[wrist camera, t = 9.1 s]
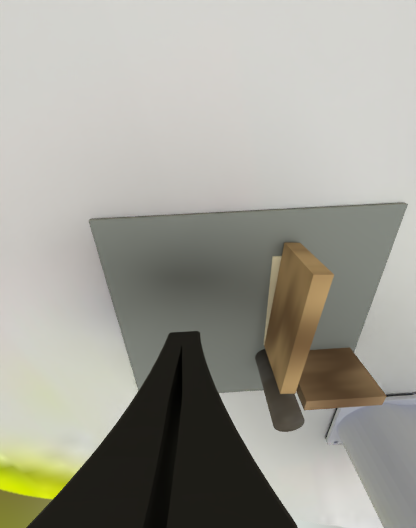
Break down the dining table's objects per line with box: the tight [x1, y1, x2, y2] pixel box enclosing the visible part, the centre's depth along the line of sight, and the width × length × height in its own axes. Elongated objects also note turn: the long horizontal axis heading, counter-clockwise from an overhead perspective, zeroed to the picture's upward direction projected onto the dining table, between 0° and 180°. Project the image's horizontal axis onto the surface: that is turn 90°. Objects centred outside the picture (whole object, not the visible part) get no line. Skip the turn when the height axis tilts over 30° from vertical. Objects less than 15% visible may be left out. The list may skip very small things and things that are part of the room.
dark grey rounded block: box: [255, 347, 387, 432], centre depth 17 cm, size 8×2×5 cm, turn 92°
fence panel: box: [264, 243, 334, 394], centre depth 14 cm, size 9×1×4 cm, turn 178°
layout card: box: [89, 203, 408, 393], centre depth 17 cm, size 19×17×1 cm
